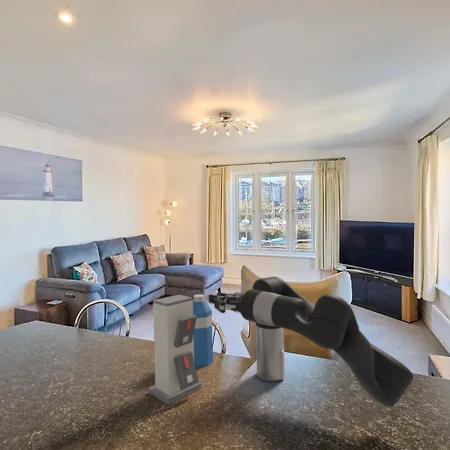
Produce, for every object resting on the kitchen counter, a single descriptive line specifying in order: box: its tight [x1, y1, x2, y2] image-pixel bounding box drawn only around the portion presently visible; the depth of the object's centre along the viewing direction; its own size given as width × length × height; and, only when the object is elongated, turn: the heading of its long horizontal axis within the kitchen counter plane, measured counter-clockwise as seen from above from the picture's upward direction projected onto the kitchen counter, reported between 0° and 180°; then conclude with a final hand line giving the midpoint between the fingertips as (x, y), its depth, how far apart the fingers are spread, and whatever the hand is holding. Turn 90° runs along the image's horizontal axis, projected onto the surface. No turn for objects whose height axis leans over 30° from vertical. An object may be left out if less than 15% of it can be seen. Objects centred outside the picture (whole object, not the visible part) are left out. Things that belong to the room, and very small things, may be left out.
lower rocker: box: [174, 352, 199, 390], centre depth 100 cm, size 1×6×9 cm, turn 136°
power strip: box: [148, 294, 202, 405], centre depth 104 cm, size 10×13×29 cm
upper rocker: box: [174, 315, 197, 348], centre depth 100 cm, size 2×6×9 cm, turn 136°
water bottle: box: [193, 293, 214, 368], centre depth 125 cm, size 9×9×25 cm
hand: (214, 297), depth 91 cm, fingers open, 2 cm apart
